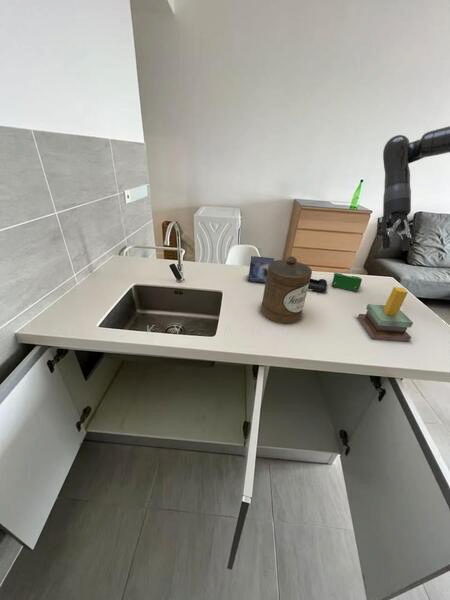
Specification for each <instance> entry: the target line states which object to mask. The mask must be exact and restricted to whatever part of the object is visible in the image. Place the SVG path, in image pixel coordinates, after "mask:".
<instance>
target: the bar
mask: <svg viewBox="0 0 450 600" xmlns="http://www.w3.org/2000/svg"><path fill="white" fill-rule="evenodd" d="M408 293H409V292H408V291H407V290H406V288H405V287H399V286H393V288H392V291H391V292H390V295H389V296H388V299H387V300H386V303H385V304H384V305H385V307H384V309H383V310H384V312H385V313H386V315H393V316H396V315H397V313H398V311H399V309H400V310H401V307H402V305H403V303H404V301H405V299H406V297H407V295H408Z"/></svg>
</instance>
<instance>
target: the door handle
mask: <svg viewBox="0 0 450 600" xmlns="http://www.w3.org/2000/svg"><path fill="white" fill-rule="evenodd" d="M327 284H328V281H327V280H326V279H325V278H320V279H315V278H310V281H309V286H308V290H307V291H310V292H312V291H316V292H320V293H325V292H327V290H328V289H327Z"/></svg>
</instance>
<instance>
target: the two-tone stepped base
mask: <svg viewBox="0 0 450 600" xmlns="http://www.w3.org/2000/svg"><path fill="white" fill-rule="evenodd" d="M385 305H386V304H375V303H367V306H366V307H365V309H366V310H367V311H366V313H359V314H358V315H357V319H358V321H359V322H360V324H361V325H362V327H363V328H364V330H365V331H366V332H367V334H368V335H369V337H370V338H371V339H372V340H380V341H395V342H410V340H411V339H412V336H411V335H410V334H409V333H408V332H407V329H410V328H412V326H413V324H414V322H413V320H411V319H410V318H409V317H408V316H407V315H406V314H405V312H403V311H402V310H401V308H400V309H399V311H398V313H397V315H396V316H393V315H386V313H385V312H384V310H383V309H384V307H385Z"/></svg>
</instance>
